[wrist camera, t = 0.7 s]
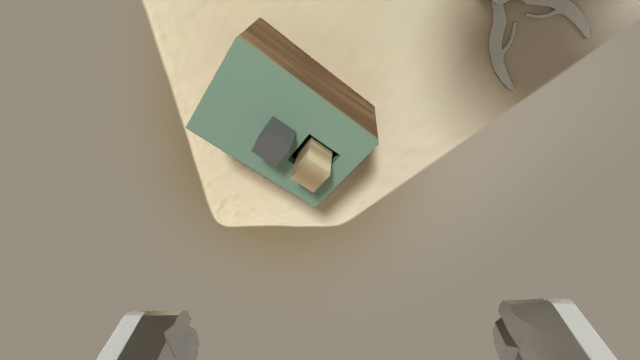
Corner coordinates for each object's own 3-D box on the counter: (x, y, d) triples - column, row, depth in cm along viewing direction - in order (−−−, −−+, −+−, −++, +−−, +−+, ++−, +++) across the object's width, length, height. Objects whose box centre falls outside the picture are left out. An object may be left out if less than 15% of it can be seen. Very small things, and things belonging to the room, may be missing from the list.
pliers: (511, 94, 42) (442, -4, 36) (507, 89, 43) (439, -6, 38) (598, 35, 37) (533, -87, 32) (590, 32, 39) (526, -86, 33)
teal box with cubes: (241, 32, 34) (223, 48, 29) (377, 134, 39) (380, 161, 34) (193, 119, 40) (171, 143, 35) (316, 197, 45) (311, 226, 40)
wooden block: (317, 107, 45) (306, 159, 35) (335, 120, 46) (330, 175, 36) (305, 123, 47) (290, 178, 36) (322, 136, 48) (313, 192, 37)
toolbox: (260, 17, 40) (239, 35, 33) (374, 106, 45) (378, 139, 38) (215, 93, 46) (189, 122, 39) (321, 164, 52) (315, 201, 44)
